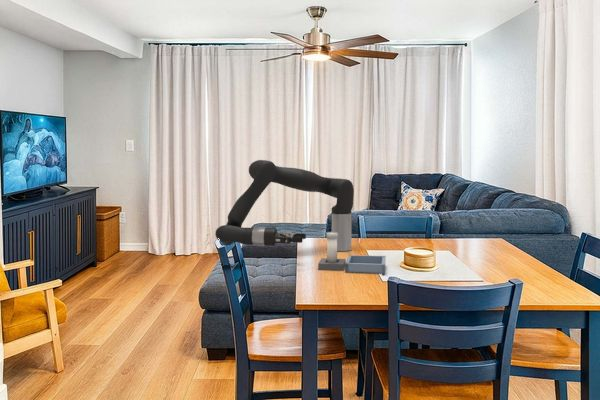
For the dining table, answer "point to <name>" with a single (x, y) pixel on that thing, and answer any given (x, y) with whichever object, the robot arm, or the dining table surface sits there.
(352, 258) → the parts tray
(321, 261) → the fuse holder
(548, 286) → the dining table surface
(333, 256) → the fuse
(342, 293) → the dining table surface
